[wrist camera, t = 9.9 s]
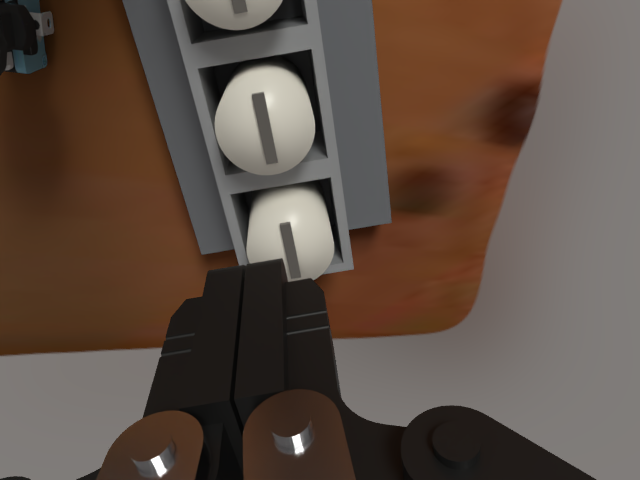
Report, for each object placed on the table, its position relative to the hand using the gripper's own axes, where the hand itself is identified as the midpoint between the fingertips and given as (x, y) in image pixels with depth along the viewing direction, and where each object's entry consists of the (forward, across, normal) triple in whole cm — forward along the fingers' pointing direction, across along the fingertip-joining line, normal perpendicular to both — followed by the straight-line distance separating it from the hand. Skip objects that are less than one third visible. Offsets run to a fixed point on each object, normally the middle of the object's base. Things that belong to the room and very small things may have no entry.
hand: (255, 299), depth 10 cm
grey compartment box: (+22, 0, 0) cm, 22 cm away
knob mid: (+18, 0, 0) cm, 18 cm away
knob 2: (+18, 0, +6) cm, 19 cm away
